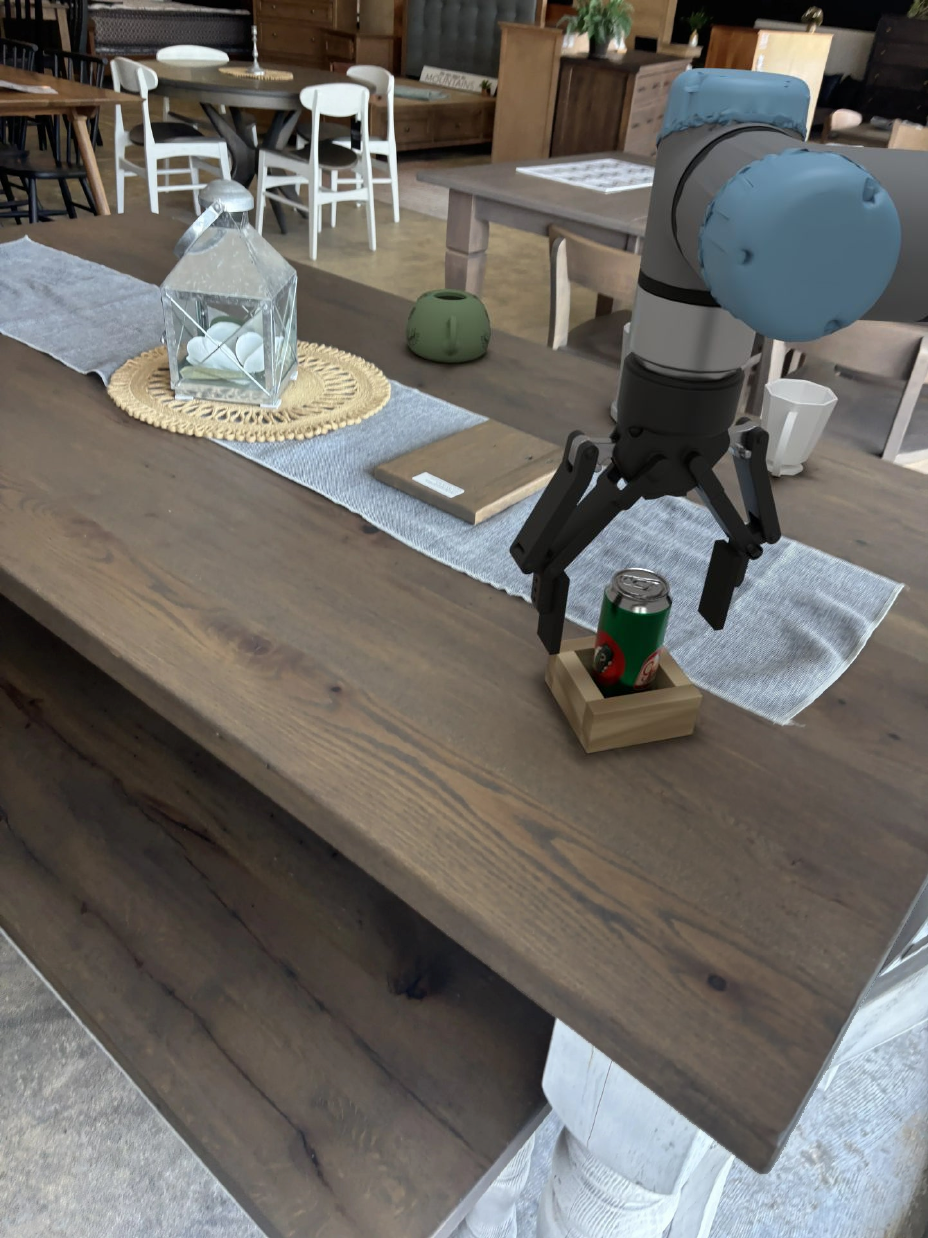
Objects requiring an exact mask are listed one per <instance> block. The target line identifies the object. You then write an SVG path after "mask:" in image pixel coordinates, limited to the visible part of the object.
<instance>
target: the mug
mask: <svg viewBox="0 0 928 1238" xmlns="http://www.w3.org/2000/svg"><path fill="white" fill-rule="evenodd" d="M491 330H492V329H491V322H490V317H489V314H488V310H487V309H486V307H485V304H484V303H483V301H481V299H480V298H479V297H478V296H477V295H476V294H474V293H471V292H468V291H465V290H461V289H456V288H441V289H440V288H439V289H434V290H428V291H426V292H424V293H422V294H421V295H420V296H419V297H418V298H417V299H416V301H415V303H414V305H413V306H412V308H411V311H410V312H409V315H408V318H407V323H406V329H405V335H406V340H407V346H408V348H410V351H412V352H413V353H415V354H416V355H417V356H418V357H421V358H422V359H424V360H428V361H431V362H435V363H445V364H457V363H466V362H471V361H474V360H476V359H478V358H479V357H482V356H483V355H484V354H485V353H487V351H488V348H489V343H490V340H491V336H492V331H491Z"/></svg>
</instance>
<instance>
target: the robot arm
mask: <svg viewBox="0 0 928 1238" xmlns="http://www.w3.org/2000/svg"><path fill="white" fill-rule="evenodd" d="M809 87H810V86H809V85H808V84H807V82H806V81H804V79H802V78H799V77H796V76H794V75H788V74H784V73H783V74H782V73H777V72H776V73H775V72H768V71H759V70H749V69H735V68H734V69H733V68H732V69H731V68H715V67H714V68H712V67H711V68H710V67H701V68H699V67H698V68H691V69H687V70H684V71H683V72H681V73H680V74H678V75H677V76H676V78H674V80H673V81H672V83H671V85H670V87H669V90H668V95H667V100H666V105H665V110H664V115H663V119H662V121H661V122H662V123H661V127H660V131H659V132H658V133H657V135H656V139H655V147H656V159H655V165H654V171H653V176H652V177H653V179H652V184H651V190H650V191H651V192H650V198H649V203H648V204H649V205H648V210H647V217H646V224H645V229H644V238H643V243H642V250H641V257H640V263H639V269H638V278H637V282H636V287H635V294H634V299H633V306H632V312H631V318H630V322H631V324H630V330H629V336H628V342H627V343H628V346H629V348H630V350H631V351H632V352H631V353H630V354H629V355H627V356H626V358H625V360H624V365H623V371H622V377H621V383H620V390H619V396H618V402H617V422H616V423H615V426H614V428H613V430H612V432H611V433H610V435H609V436H608V437H602V436H601V437H596V436H587V435H586V434H585V433H584V432H583V431H582V430H580V429H574V430H573V431H571V432H570V433H569V434H568V436H567V438H566V443H565V446H564V450H563V451H564V452H563V455H562V458H561V462H560V463H559V465H558V467H557V469H556V470H555V472H554V474H553V475H552V477H551V478H550V480H549V482H548V484H547V485H546V487H545V489H544V490H543V492H542V494H541V495H540V496H539V499H538V500H537V502H536V504H535V505H534V506H533V509H532V510H531V511H530V513H529V514H528V517H527V518H526V520H525V522H524V523H523V524H522V527H521V528H520V529H519V531H518V533H517V535H516V536H515V538H514V540H513V542H512V543H511V545H510V547H509V550H508V552H509V554H510V556H511V557H512V559H513V561H514V562H515V563H516V565H517V567H518V569H519V570H520V571H521V573H522V574H523V575H526V576H528V575H532V580H531V590H530V601H531V604H532V605H533V607H534V608H535V610H536V612H537V613H538V622H537V629H536V635H537V636H538V638H539V640H540V642H541V643H542V645H543V646H544V649H545V650H546V651H547V653H549V655H555V654H559V653H560V646H561V641H562V639H563V632H564V625H565V618H566V613H567V605H568V598H569V589H570V584H571V579H570V576H568V574H567V573H566V569H567V568H568V567H569V566H570V565H571V564H572V563H573V562H574V561H575V560H576V559H577V558H578V557H579V556H580V554H582V552H583V551H584V550H585V549H586V548H587V547H588V546H589V545H590V544H591V543H592V542H594V540H595V539H596V538H597V537H598V536H599V535H600V534H601V533H602V532H603V531H604V529H605V528H607V527H608V526H609V524H610V523H611V522H613V520H614V519H615V518H617V516H618V515H619V514H620V513H621V512H623V511H628V510H630V509H631V508H632V507H633V506H634V505H635V504H636V503H637V502H638V501H639V500H640V499H641V498H642V499H643V500H645V501H653V500H657V499H660V498H663V497H666V496H667V497H673V498H680V497H681V498H682V497H687V495H688V493H689V492H691V491H692V490H695V491H696V493H697V495H698V496H699V497H700V499H701V500H702V503H704V505H705V506H706V508H707V509H708V511H709V513H710V514H711V515H712V517H713V519H714V520H715V521H716V523H717V524H718V526H719V528H720V529H721V530H722V531H723V533H724V535H725V536H726V537H727V539H728V541H727V540H725V538H722V539H714V543H713V547H712V551H711V555H710V559H709V564H708V567H707V571H706V574H705V580H704V584H703V587H702V591H701V595H700V599H699V603H698V608H697V612H698V614H699V615H700V616H701V617H702V618H703V619H704V620H705V622H707V624H708V625H709V626H710V628H712V630H713V631H714V632H716V631H721V630H722V631H723V630H724V629H725V624H726V621H727V617H728V613H729V611H730V606H731V602H732V600H733V596H734V591H735V588H740V587H741V585H742V584H743V582H744V581H745V577H746V574H747V569H748V567H749V562H750V561H756V560H758V559H760V558H761V557H762V556H763V554H764V548H763V546H761V545H763V544H768V545H775V544H777V543H778V542H779V541H780V540H781V537H782V531H781V526H780V522H779V516H778V511H777V507H776V502H775V497H774V492H773V489H772V484H771V479H770V475H769V471H768V469H767V464H766V454H767V448H768V442H769V434H768V432H767V431H765V430H764V429H763V428H761V425H760V424H758V423H756V422H755V421H753V420H752V419H751V418H749V417H748V416H742V417H739V418H738V419H737V420H736V422H735V419H736V415H737V411H738V407H739V402H740V399H741V394H742V391H743V387H744V382H745V377H746V374H745V372H744V370H743V368H742V367H744V366H745V365H747V363H748V362H749V361H750V359H751V357H752V356H751V355H752V351H753V347H754V343H755V340H756V339H755V338H756V334H759V335H761V336H763V337H765V338H767V339H771V340H774V341H779V342H784V343H810V342H813V341H817V340H820V339H821V338H824V337H827V336H830V335H832V334H834V333H836V332H839V331H840V330H843V329H846V328H848V327H850V326H852V325H853V324H854V323H855V322H857V321H868V322H869V321H870V322H889V323H890V322H891V323H892V322H893V323H928V150H920V149H905V148H904V149H903V148H888V147H873V146H871V147H869V146H852V145H851V146H850V145H835V144H821V143H812V142H806V140H807V136H808V135H807V134H808V127H807V124H808V115H809V110H810V104H811V98H812V97H811V90H810V88H809ZM734 422H735V424H734ZM733 424H734V425H733ZM727 452H730V453H731V454H732V460H733V464H734V468H735V473H736V477H737V481H738V485H739V489H740V493H741V498H742V501H743V507H744V510H745V514H746V518H747V522H748V523H745V521H744V520H743V518H742V516H741V515H740V514H739V513H740V512H738V511H737V509H736V507H735V506H734V504H733V502H732V501H731V499H730V498H729V497H728V494H727V493H726V492H725V488H724V486H723V485H722V483H721V481H720V479H719V478H718V477H717V476H716V474H715V471H714V470H713V468H714V467H715V466H716V465H717V463H719V461H720V460H721V459H722V458H723V457H724V456H725V455H726V454H727ZM608 459H610V460H611V461H610V463H609V464H608V465H607V466H606V467H605V468H604V469H603V466H602V465H603V463H604V462H605V461H607V460H608ZM602 470H603V471H602ZM601 471H602V472H601ZM600 472H601V473H600ZM598 473H600V474H598ZM594 474H598V476H597V478H596V483H595V485H594V487H593V488H591V490H590V491H589V492H588V493H587V494H586V495H585V493H586V492H587V490H588V488H589V487H590V484H591V482H592V480H593V478H594ZM621 480H623V482H624V485H625V486H624V487H623V488H622V489H620V487H618V483H619V482H620V481H621ZM584 495H585V496H584ZM583 496H584V497H583Z"/></svg>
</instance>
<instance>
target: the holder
mask: <svg viewBox="0 0 928 1238" xmlns="http://www.w3.org/2000/svg"><path fill="white" fill-rule="evenodd" d="M595 640H596V635H590V636H584V637H575V638H570V639H563V640H561V646H560V653H559V654H555V655H549V653H548V652H547V653H548V654H547V662H546V667H545V676H544V681H545V683H546V685H547V686H548V688H549V690H550V691H551V693H552V695H553V697H554V699H555V700H556V702H557V704H558V705H559V707H560V709H561V711H562V712H563V714H564V716H565V718H566V720H567V722H568V723H569V725H570V727H571V729H572V730H573V732H574V733H575V735H576V737H577V739H578V740H579V742H580V744H581V745H582V747H583V749H584V751H585V753H586V754H591V753H592V754H593V753H597V752H602V751H607V750H608V751H609V750H613V749H619V748H620V749H621V748H625V747H630V746H635V745H641V744H646V743H651V742H653V743H654V742H658V741H663V740H669V739H674V738H679V737H685V736H692V735H693V734H694V729H695V725H696V722H697V718H698V714H699V711H700V707H701V704H702V699H703V695H702V693H701V692H700V691H699V690H698V688H697V687H696V686H695V684H694V683H693V682H692V680H691V679H690V678H689V676H688V675H687V674H686V672H685V671H684V670H683V669H682V667H681V666H680V665H679V664H678V662H677V660H675V658H674V657H673V656H672V654H671V653H670V651H668V649H667V648H666V647H665V645H663V646H662V651H661V655H660V660H659V664H658V668H657V673H656V677H655V682H654V686H653V691H647V692H641V693H635V694H629V695H623V696H617V697H611V698H605V699H604V697H603V696H602V694H601V692H600V691H599V689H598V688H597V686H596V685H595V683H594V682H593V680H592V678H591V677H590V669H591V663H592V657H593V652H594V646H595Z"/></svg>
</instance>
